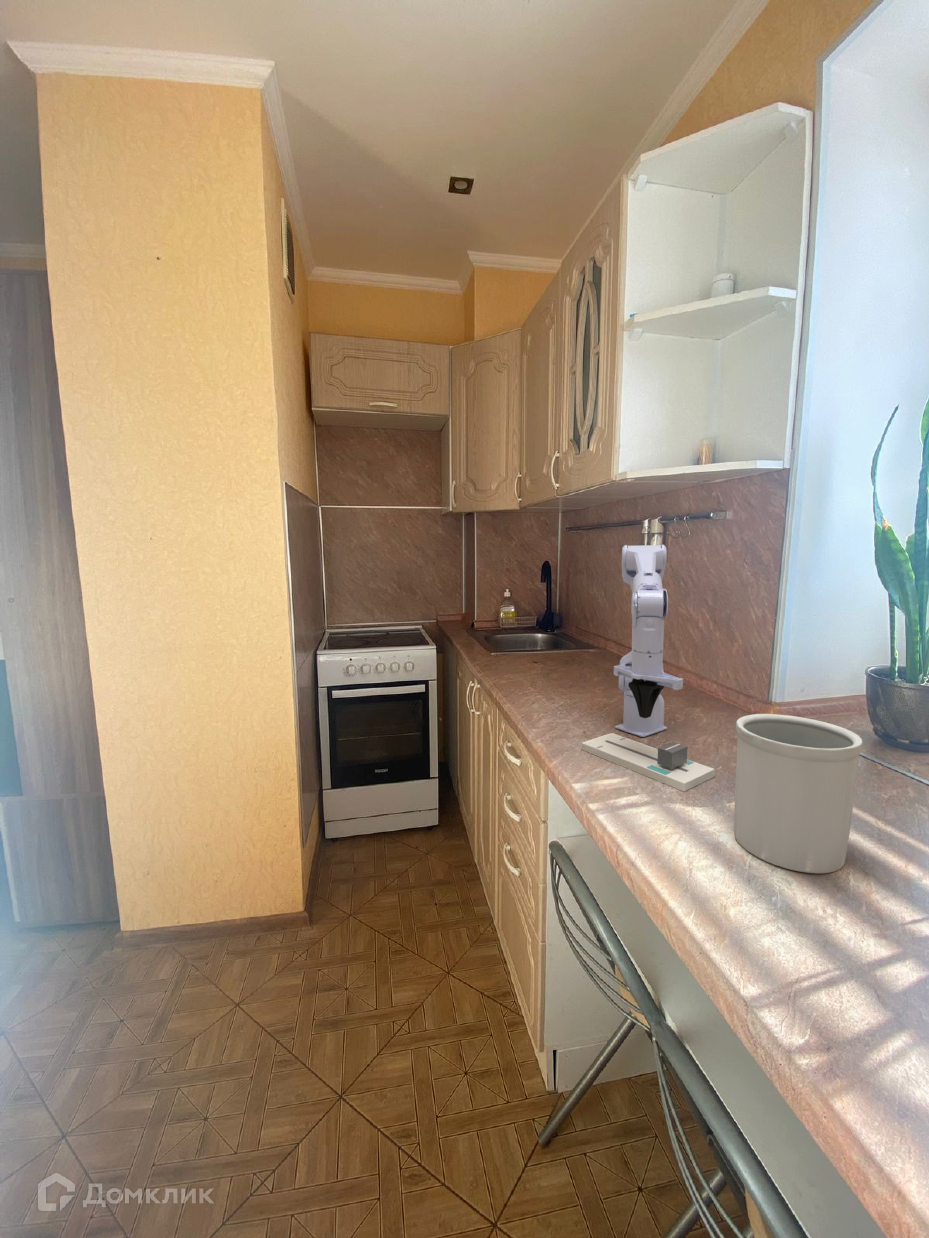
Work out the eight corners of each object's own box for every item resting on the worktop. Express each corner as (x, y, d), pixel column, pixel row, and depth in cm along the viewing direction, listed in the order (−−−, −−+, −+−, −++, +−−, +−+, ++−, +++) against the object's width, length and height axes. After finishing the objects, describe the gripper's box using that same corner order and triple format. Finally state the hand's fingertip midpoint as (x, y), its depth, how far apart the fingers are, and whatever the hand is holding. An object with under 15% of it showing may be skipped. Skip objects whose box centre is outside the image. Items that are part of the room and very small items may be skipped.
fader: (672, 757, 100) (673, 741, 100) (686, 762, 98) (687, 746, 97) (657, 763, 97) (658, 747, 97) (671, 769, 95) (672, 752, 94)
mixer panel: (611, 739, 115) (611, 732, 115) (714, 776, 96) (714, 768, 96) (581, 749, 110) (581, 742, 109) (684, 791, 90) (684, 783, 90)
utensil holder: (740, 808, 84) (747, 706, 82) (853, 839, 75) (864, 725, 73) (718, 849, 73) (725, 732, 71) (847, 892, 64) (860, 759, 61)
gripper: (604, 647, 104) (603, 711, 106) (669, 659, 92) (665, 731, 94) (626, 643, 108) (624, 704, 110) (690, 654, 96) (687, 723, 98)
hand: (645, 716), depth 102 cm, fingers closed
